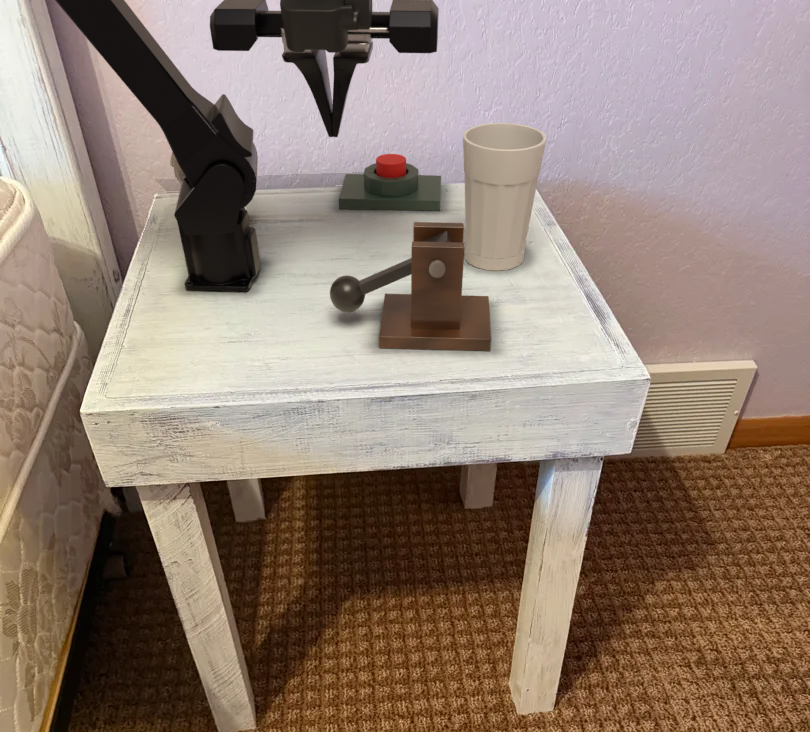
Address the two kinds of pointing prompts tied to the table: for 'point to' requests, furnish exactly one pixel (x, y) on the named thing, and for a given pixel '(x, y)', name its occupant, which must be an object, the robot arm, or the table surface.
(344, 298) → the lever
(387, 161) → the button
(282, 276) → the table surface
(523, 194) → the cup
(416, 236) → the bracket
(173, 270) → the table surface
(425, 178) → the button block
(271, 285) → the table surface
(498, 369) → the table surface
